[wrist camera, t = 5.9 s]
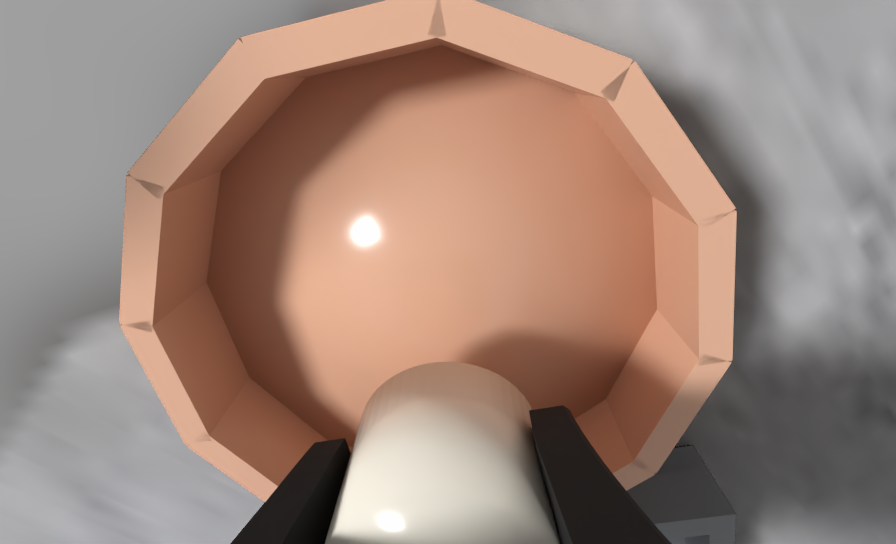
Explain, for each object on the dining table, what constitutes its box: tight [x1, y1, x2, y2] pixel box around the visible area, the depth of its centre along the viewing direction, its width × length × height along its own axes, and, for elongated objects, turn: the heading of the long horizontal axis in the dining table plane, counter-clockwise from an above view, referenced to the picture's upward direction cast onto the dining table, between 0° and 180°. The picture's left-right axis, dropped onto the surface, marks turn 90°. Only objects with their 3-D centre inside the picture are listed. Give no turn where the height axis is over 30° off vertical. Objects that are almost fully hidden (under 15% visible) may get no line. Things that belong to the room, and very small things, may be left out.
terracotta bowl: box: [119, 0, 737, 502], centre depth 10 cm, size 11×11×3 cm
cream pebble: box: [325, 362, 561, 544], centre depth 8 cm, size 4×4×3 cm
